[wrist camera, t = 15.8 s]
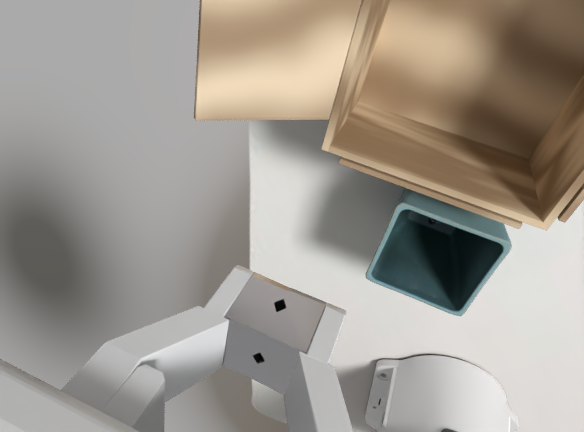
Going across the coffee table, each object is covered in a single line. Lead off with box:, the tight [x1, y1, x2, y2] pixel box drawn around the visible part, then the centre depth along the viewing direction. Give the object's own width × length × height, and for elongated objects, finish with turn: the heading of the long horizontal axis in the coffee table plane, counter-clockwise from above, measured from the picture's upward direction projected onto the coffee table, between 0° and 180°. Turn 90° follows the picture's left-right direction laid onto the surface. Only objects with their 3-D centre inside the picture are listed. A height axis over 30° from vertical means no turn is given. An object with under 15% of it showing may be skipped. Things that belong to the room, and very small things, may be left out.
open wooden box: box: [322, 0, 584, 231], centre depth 27 cm, size 19×17×10 cm
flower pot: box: [366, 188, 512, 316], centre depth 37 cm, size 9×9×9 cm
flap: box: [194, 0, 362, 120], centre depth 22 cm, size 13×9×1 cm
